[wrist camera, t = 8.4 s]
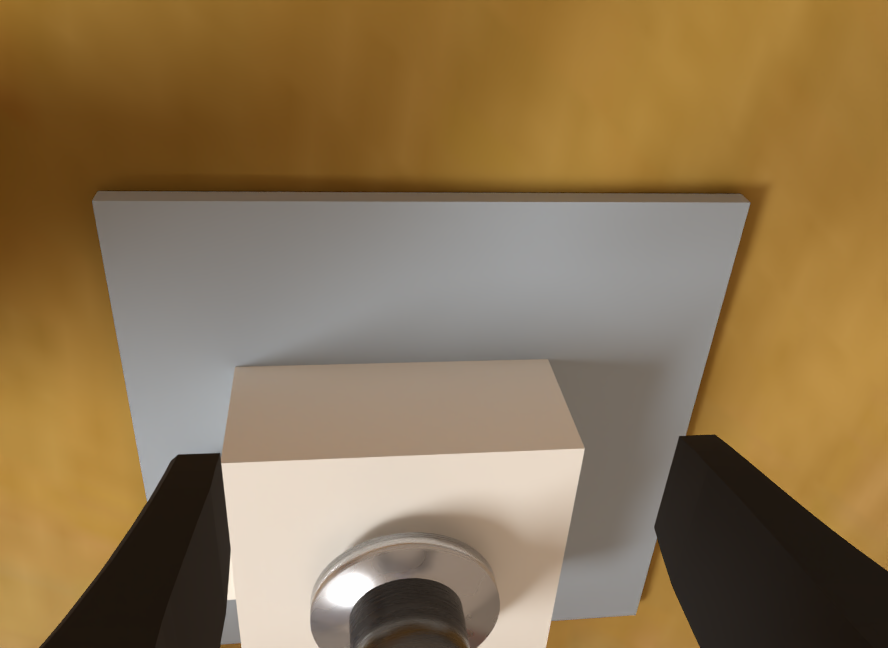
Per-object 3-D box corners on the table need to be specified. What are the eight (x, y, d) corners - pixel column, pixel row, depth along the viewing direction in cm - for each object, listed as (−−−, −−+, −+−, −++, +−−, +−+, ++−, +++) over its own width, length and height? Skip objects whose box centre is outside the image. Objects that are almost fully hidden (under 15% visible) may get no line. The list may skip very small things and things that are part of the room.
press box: (515, 568, 29) (541, 669, 25) (206, 587, 27) (190, 697, 24) (548, 358, 24) (584, 448, 21) (175, 368, 23) (150, 466, 19)
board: (630, 601, 32) (635, 614, 31) (176, 633, 29) (174, 647, 29) (740, 193, 23) (750, 202, 22) (97, 191, 20) (91, 201, 20)
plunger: (464, 536, 27) (510, 766, 21) (313, 544, 27) (311, 785, 20) (476, 419, 25) (533, 640, 18) (309, 425, 24) (305, 657, 17)
